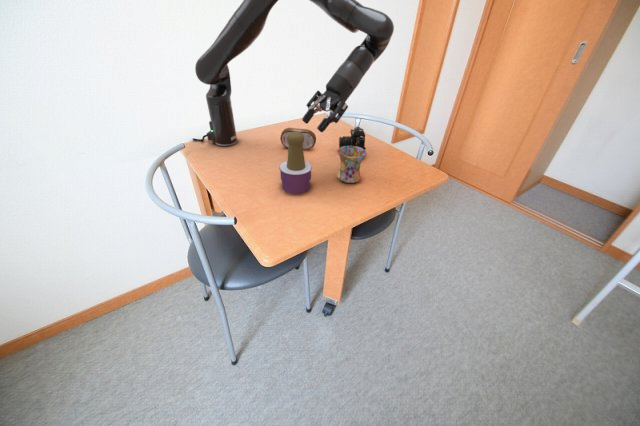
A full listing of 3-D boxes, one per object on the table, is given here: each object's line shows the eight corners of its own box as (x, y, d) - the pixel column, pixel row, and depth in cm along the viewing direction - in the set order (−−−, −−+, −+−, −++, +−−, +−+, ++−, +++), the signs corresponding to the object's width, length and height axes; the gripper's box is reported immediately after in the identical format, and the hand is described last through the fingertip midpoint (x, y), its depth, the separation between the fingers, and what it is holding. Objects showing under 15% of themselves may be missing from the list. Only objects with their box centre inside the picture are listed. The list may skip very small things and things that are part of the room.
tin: (316, 148, 117) (316, 129, 112) (315, 151, 115) (315, 131, 110) (281, 145, 118) (280, 126, 113) (280, 148, 116) (279, 129, 111)
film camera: (331, 145, 121) (332, 122, 115) (356, 142, 124) (359, 120, 118) (346, 162, 107) (348, 138, 101) (374, 159, 111) (378, 135, 105)
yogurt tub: (277, 193, 88) (275, 173, 83) (284, 177, 96) (283, 158, 91) (309, 196, 87) (309, 176, 82) (313, 180, 95) (314, 160, 91)
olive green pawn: (308, 164, 89) (308, 131, 82) (301, 172, 84) (300, 138, 77) (291, 160, 90) (290, 128, 83) (283, 168, 86) (281, 134, 79)
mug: (365, 183, 95) (370, 155, 88) (341, 186, 92) (343, 158, 86) (353, 168, 104) (356, 141, 97) (330, 170, 102) (332, 143, 95)
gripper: (324, 68, 82) (292, 112, 84) (354, 77, 73) (317, 126, 75) (336, 85, 88) (306, 126, 90) (366, 95, 79) (331, 140, 80)
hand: (311, 126), depth 82 cm, fingers open, 8 cm apart
